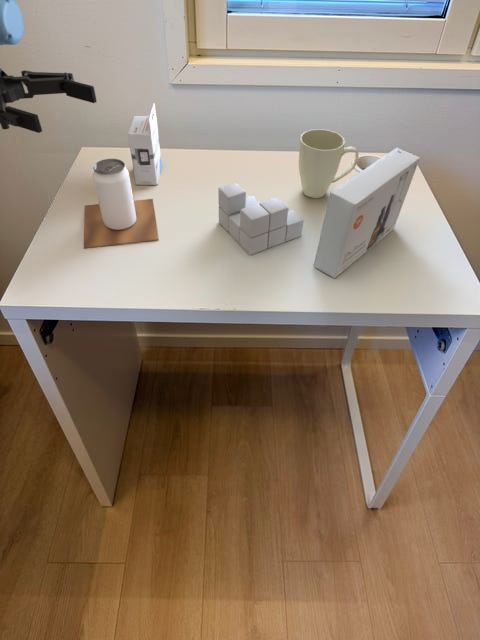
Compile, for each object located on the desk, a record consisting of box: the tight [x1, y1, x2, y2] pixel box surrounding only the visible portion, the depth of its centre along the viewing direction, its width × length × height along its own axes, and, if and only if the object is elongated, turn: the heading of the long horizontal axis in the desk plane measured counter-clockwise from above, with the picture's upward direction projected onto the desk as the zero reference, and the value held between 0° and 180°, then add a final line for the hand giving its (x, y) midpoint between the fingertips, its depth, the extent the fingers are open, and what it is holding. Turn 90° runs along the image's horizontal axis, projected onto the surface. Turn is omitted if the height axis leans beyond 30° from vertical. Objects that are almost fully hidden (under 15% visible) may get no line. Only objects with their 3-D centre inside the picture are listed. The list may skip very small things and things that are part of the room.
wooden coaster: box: [83, 198, 160, 249], centre depth 93 cm, size 14×14×1 cm
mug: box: [298, 128, 359, 199], centre depth 98 cm, size 11×10×12 cm
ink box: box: [127, 102, 163, 186], centre depth 100 cm, size 9×5×15 cm, turn 179°
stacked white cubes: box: [217, 182, 305, 256], centre depth 90 cm, size 12×12×8 cm
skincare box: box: [313, 147, 421, 279], centre depth 84 cm, size 21×6×16 cm, turn 137°
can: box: [92, 158, 136, 230], centre depth 89 cm, size 6×6×12 cm
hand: (67, 108), depth 80 cm, fingers open, 13 cm apart
